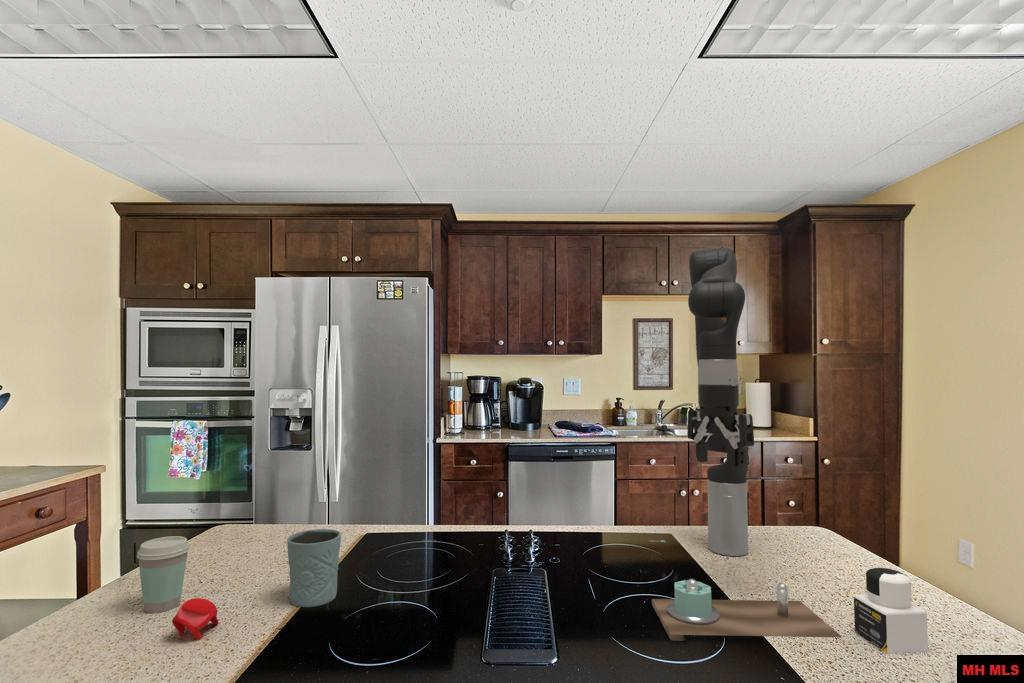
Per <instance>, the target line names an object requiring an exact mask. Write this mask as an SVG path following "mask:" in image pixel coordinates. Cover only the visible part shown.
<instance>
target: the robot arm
mask: <svg viewBox="0 0 1024 683" xmlns="http://www.w3.org/2000/svg"><path fill="white" fill-rule="evenodd" d="M688 264H689V265H688V268H689V277H690V285H691V289H690V291H689V293H688V300H687V304H688V308H689V311H690V313H691V314H692V315H693V316H694V324H695V325H694V326H695V349H696V350H695V351H696V361H697V363H696V364H697V391H698V392H697V394H698V395H697V397H698V398H697V401H698V403H697V404H698V406H699V407H698V408H699V409H689V410H688V411H687V434H686V436H687V438H688V439H689V440H692V441H693V442H694V443H695V457H696V461H697V462H699V463H707V462H708V458H709V457H708V454H709V453H708V451H710V452H714V453H715V452H716V453H723V454H726V457H725V458H726V460H725V461H724V462H723V463H720V464H715V465H712V466H709V467H708V468H707V471H706V478H707V481H706V482H707V483H706V484H707V539H708V540H707V541H708V549H709V550H710V551H711V552H713V553H715V554H718V555H722V556H723V555H724V556H731V557H732V556H733V557H741V556H745V555H747V554H749V532H748V531H749V527H748V524H749V522H748V521H749V520H748V515H749V514H748V484H747V483H748V480H747V479H748V476H747V475H748V470H749V449H750V447H754V445H755V435H754V432H755V431H754V423H753V422H754V421H753V415H752V414H748V413H747V414H746V413H745V414H744V413H743V414H739V413H738V410H737V409H738V407H739V405H740V402H739V401H740V394H739V393H740V392H739V390H740V389H739V369H738V361H737V360H738V359H737V334H738V327H739V324H740V320H741V316H742V313H743V310H744V306H745V302H746V291H745V289H744V288H743V286H742V285H741V284H740V283H739V282H736V279H737V274H738V267H737V266H738V263H737V256H736V254H735V252H734V250H732V249H731V248H728V247H718V248H711V249H709V248H708V249H702V250H695V251H692V252H691V254H690V255H689V262H688ZM723 318H725V321H724V320H723Z"/></svg>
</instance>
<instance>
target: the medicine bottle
mask: <svg viewBox="0 0 1024 683" xmlns="http://www.w3.org/2000/svg"><path fill="white" fill-rule="evenodd" d="M865 580H866V581H865V582H866V583H865V584H866V586H865V588H866V594H865V593H863V594H854V595H853V611H854V612H853V613H854V615H853V616H854V617H853V618H854V620H853V621H854V633H856V635H858V636H860V637H862V638H863V639H864V640H865V641H867V642H869V643H870V644H872V645H873V646H875V647H876V648H877V649H879V650H881V651H882V652H884V653H886V654H902V653H903V654H906V653H925V652H927V653H928V652H929V642H928V641H929V640H928V613H927V611H926V610H924V609H922V607H919V606H918V605H915V604H913V603H912V602H913V601H912V580H911V579H910V577H909V576H908V575H906V574H904V573H903V572H901V571H898V570H896V569H891V568H886V567H874V568H873V567H872V568H869V569H868V570H866V571H865Z"/></svg>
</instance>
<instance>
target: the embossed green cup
mask: <svg viewBox="0 0 1024 683" xmlns="http://www.w3.org/2000/svg"><path fill="white" fill-rule="evenodd" d="M341 539H342V532H341V531H339V530H336V529H329V528H319V529H318V528H317V529H308V530H303V531H299V532H296V533H294V534H291V535H290V536H288V537H287V540H286V543H287V557H288V566H289V572H288V573H289V582H290V583H289V599H290V603H291V604H292V605H293V606H295V607H299V608H312V607H318V606H319V607H320V606H322V605H326V604H328V603H331V602H332V601H333V600H334V599H336V596H337V592H338V570H339V556H340V550H341V541H342V540H341Z"/></svg>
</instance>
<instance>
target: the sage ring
mask: <svg viewBox="0 0 1024 683" xmlns="http://www.w3.org/2000/svg"><path fill="white" fill-rule="evenodd" d="M688 580H689V579H687V580H685V579H684V580H679V581H677V582H676V581H675V582H674V599H675V611H676V612H678V613H680V614H682V615H684V616H686V617H694V618H704V617H708V616H711V615H712V605H711V600H712V590H711V589H712V587H711V586H710V585H708V584H705V583H703V582H701V581H697V583H698V591H689V590H687V581H688Z"/></svg>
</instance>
